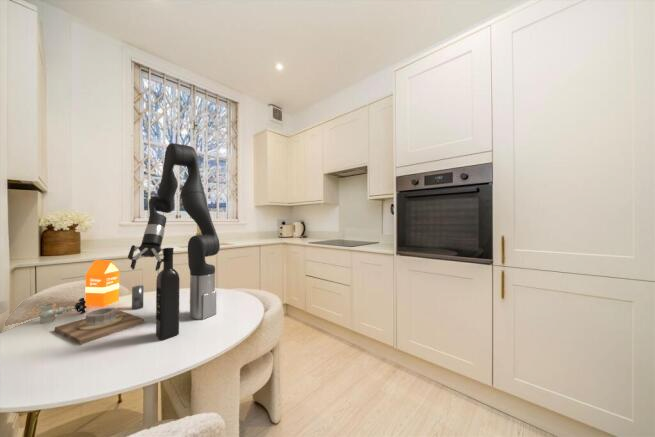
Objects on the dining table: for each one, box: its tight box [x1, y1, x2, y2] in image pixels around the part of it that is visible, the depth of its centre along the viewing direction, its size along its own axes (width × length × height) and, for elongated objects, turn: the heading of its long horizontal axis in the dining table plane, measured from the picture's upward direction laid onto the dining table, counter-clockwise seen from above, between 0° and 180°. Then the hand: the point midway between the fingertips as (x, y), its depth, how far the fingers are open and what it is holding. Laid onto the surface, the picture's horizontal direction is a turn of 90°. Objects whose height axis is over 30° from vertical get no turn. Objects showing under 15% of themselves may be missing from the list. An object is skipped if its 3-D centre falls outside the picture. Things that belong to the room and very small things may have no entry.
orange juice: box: [84, 259, 120, 307], centre depth 112 cm, size 8×9×20 cm
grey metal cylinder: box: [131, 284, 144, 311], centre depth 106 cm, size 4×4×10 cm
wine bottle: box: [155, 247, 180, 341], centre depth 82 cm, size 6×6×30 cm
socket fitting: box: [54, 307, 145, 346], centre depth 88 cm, size 20×18×6 cm
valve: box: [39, 297, 87, 325], centre depth 95 cm, size 7×7×12 cm
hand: (144, 269), depth 107 cm, fingers open, 8 cm apart
